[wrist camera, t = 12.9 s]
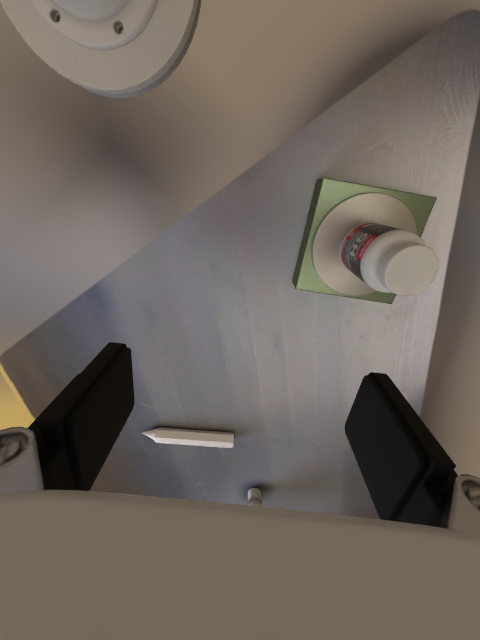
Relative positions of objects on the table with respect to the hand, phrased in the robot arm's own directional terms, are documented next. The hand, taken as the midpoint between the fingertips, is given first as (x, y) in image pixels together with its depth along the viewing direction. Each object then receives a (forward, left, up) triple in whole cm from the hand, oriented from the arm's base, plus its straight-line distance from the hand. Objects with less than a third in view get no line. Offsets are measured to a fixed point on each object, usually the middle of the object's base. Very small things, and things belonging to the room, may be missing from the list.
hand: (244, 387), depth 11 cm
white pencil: (-5, -32, -26) cm, 41 cm away
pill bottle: (+12, +4, -22) cm, 25 cm away
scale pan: (+12, +4, -22) cm, 26 cm away
